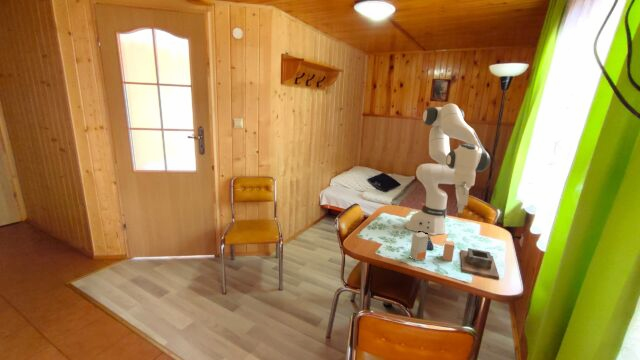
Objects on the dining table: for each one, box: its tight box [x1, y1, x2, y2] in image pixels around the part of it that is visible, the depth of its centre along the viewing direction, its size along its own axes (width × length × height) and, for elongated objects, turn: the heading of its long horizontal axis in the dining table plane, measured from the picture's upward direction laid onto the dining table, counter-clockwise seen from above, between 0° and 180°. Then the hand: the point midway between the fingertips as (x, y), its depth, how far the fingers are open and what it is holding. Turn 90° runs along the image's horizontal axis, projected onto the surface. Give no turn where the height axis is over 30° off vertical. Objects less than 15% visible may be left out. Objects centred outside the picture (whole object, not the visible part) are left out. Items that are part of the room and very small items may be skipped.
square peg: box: [442, 240, 455, 262], centre depth 140 cm, size 4×4×8 cm
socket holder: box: [459, 247, 500, 280], centre depth 136 cm, size 14×20×5 cm
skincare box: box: [409, 232, 430, 261], centre depth 139 cm, size 6×4×12 cm
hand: (459, 209), depth 137 cm, fingers open, 8 cm apart
